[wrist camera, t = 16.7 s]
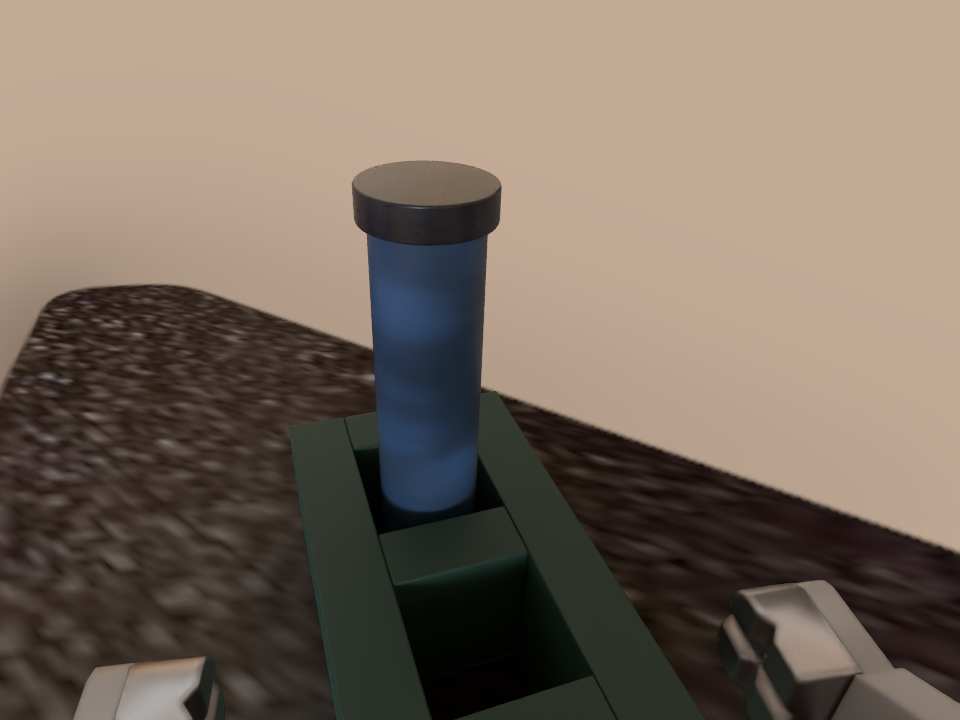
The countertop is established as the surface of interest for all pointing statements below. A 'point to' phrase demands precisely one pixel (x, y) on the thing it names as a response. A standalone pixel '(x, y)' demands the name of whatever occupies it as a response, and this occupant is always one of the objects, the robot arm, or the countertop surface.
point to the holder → (469, 588)
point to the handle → (427, 329)
